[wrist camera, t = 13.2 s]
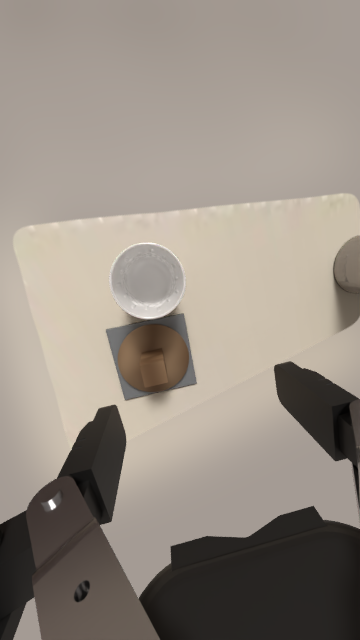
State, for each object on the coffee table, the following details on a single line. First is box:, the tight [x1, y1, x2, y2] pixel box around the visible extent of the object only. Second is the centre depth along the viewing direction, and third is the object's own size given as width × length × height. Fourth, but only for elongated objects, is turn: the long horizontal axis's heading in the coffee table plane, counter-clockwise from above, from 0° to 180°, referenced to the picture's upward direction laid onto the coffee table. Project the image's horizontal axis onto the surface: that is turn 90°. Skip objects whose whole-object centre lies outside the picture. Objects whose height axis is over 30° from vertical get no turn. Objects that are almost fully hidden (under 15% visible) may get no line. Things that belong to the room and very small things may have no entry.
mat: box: [106, 314, 197, 400], centre depth 35 cm, size 12×12×1 cm
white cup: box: [109, 242, 186, 319], centre depth 27 cm, size 8×8×10 cm
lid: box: [118, 324, 189, 392], centre depth 32 cm, size 11×11×6 cm
